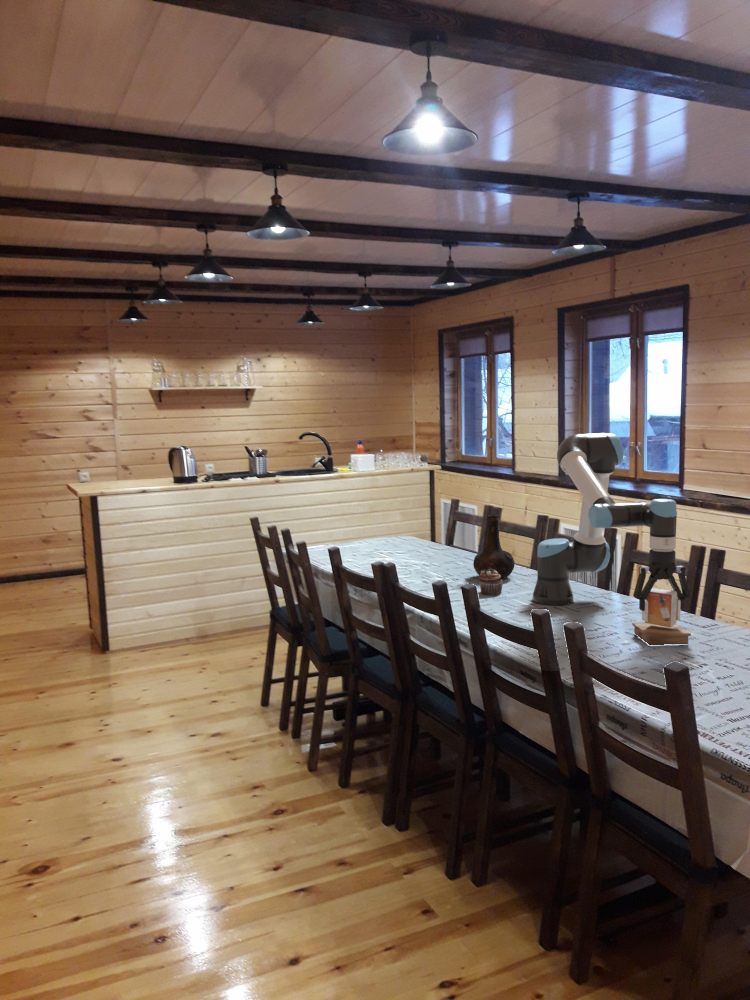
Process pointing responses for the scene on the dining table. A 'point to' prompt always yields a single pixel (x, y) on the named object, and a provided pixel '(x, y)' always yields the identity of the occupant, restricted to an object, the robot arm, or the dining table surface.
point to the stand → (661, 634)
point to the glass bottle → (494, 552)
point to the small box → (662, 607)
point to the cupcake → (490, 582)
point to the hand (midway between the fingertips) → (660, 620)
